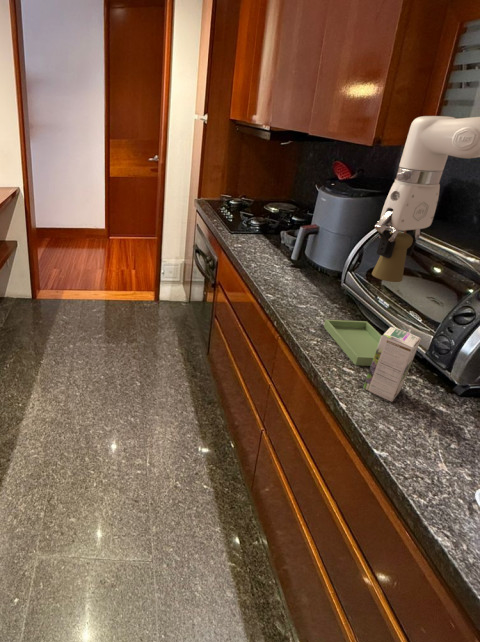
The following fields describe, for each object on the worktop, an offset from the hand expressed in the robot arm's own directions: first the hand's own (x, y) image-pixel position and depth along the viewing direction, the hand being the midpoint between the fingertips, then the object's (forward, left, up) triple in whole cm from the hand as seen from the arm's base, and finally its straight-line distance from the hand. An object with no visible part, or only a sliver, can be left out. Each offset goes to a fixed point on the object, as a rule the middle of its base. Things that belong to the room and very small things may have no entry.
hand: (393, 253), depth 90 cm
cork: (0, 0, -6) cm, 6 cm away
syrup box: (-10, +12, -27) cm, 32 cm away
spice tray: (+2, -1, -27) cm, 27 cm away
